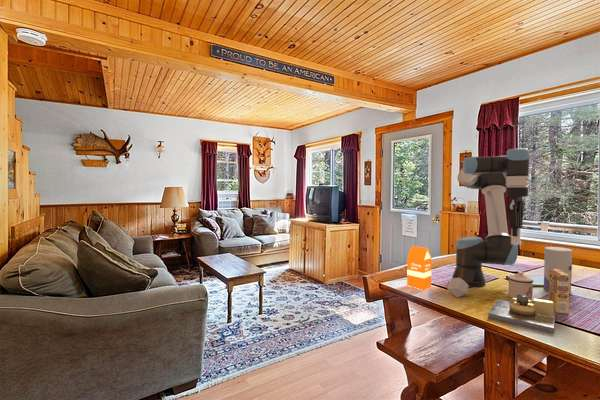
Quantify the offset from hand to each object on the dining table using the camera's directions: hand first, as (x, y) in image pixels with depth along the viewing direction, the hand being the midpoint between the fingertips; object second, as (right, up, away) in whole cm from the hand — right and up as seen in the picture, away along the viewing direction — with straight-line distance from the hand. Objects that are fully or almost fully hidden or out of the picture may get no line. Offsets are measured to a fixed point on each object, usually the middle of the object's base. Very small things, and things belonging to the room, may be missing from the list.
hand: (515, 243), depth 128 cm
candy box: (+15, -26, -3) cm, 30 cm away
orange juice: (-30, -25, +26) cm, 47 cm away
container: (+33, -25, +19) cm, 46 cm away
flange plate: (-5, -26, -10) cm, 29 cm away
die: (-17, -26, +14) cm, 34 cm away
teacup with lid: (+10, -26, +10) cm, 29 cm away
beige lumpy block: (-3, -24, -12) cm, 27 cm away
